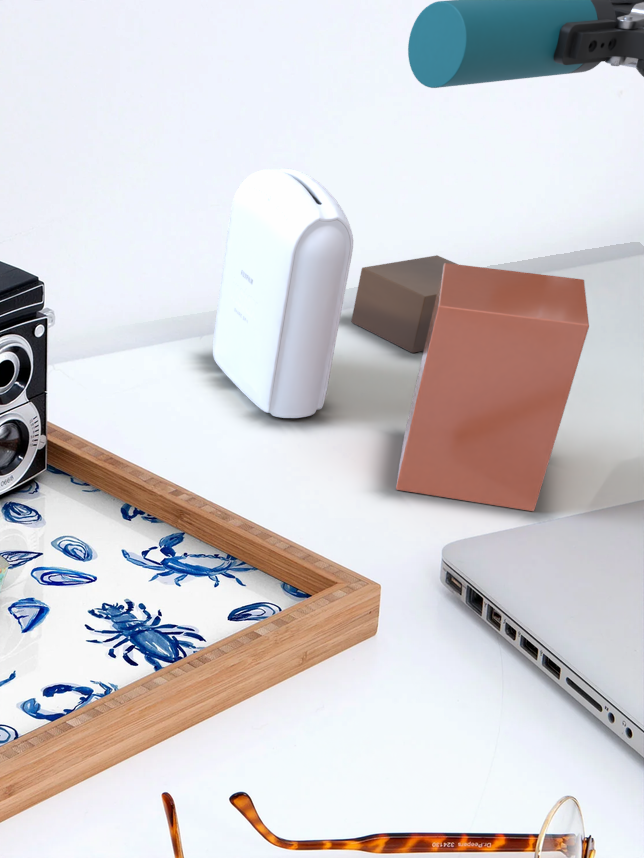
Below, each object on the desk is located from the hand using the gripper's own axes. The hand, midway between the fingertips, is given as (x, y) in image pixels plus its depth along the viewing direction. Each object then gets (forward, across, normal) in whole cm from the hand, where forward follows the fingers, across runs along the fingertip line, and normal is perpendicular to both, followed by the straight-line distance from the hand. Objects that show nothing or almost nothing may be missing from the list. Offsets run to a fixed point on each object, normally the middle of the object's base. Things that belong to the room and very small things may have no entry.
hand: (529, 36), depth 88 cm
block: (+4, 0, +18) cm, 18 cm away
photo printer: (+19, +3, +18) cm, 26 cm away
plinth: (+16, +18, +18) cm, 30 cm away
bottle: (+1, 0, 0) cm, 1 cm away
